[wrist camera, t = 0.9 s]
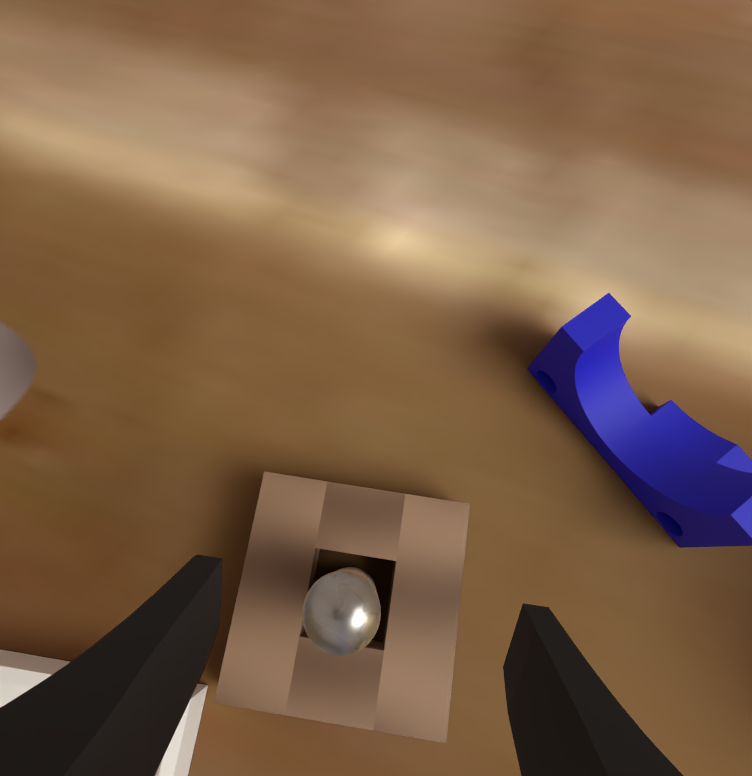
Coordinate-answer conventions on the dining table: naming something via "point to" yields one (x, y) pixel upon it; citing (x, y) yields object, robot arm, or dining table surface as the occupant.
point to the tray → (23, 671)
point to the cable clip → (647, 435)
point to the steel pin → (342, 611)
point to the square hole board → (403, 620)
